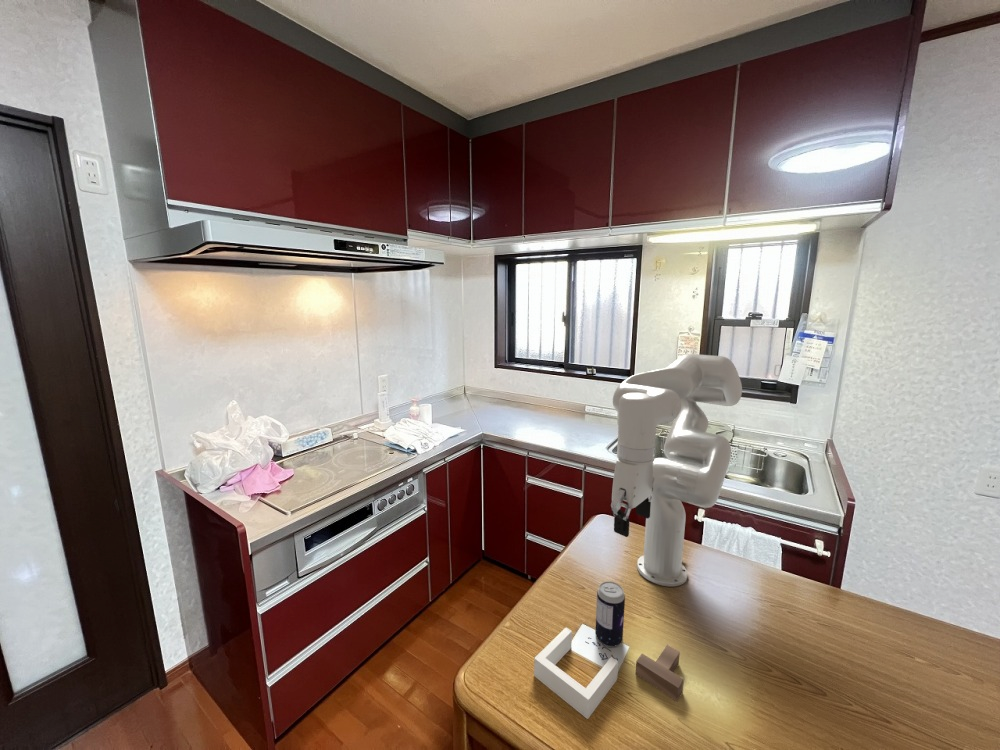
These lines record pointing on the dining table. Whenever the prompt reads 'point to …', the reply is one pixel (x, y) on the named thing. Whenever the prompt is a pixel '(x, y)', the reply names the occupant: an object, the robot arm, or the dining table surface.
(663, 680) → the walnut T block
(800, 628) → the dining table surface
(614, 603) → the beverage can
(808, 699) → the dining table surface
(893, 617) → the dining table surface
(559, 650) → the corral
